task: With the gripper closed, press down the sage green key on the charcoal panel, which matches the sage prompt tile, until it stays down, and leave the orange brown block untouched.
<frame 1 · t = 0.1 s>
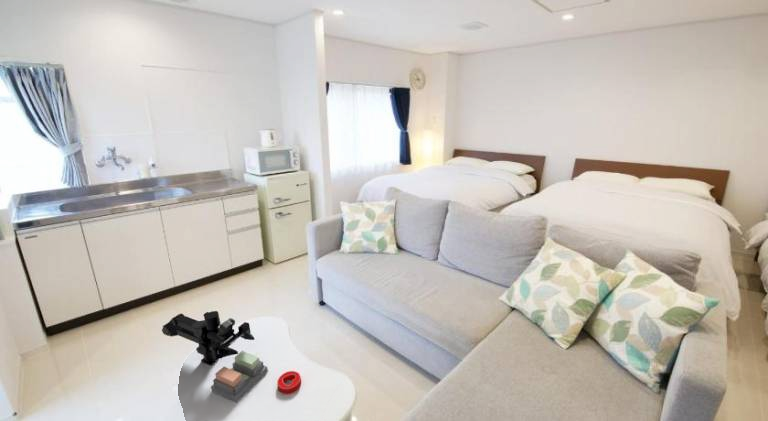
hand: (246, 345, 143), 17 cm above the table, tool horizontal, fingers open, 9 cm apart
orange brown block: (228, 377, 139), point 7 cm above the table, slide at 0.0 cm
decorative ornament: (289, 385, 143), on the table
sage button: (247, 361, 148), point 6 cm above the table, slide at 0.0 cm
button panel: (240, 380, 146), on the table
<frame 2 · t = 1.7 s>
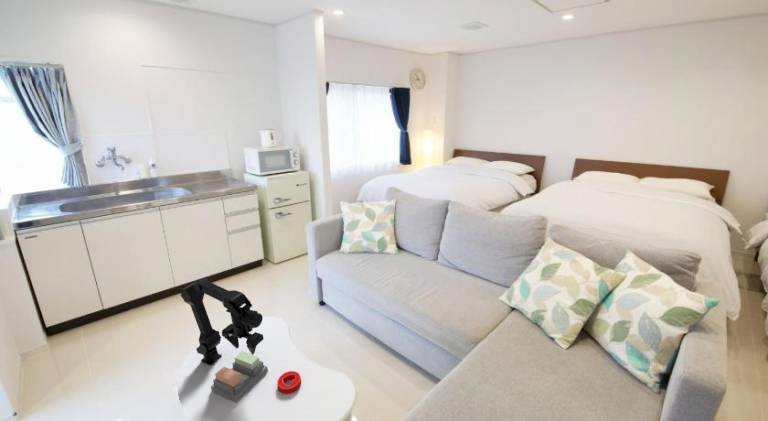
hand: (245, 350, 146), 12 cm above the table, tool pointing down, fingers open, 9 cm apart
nothing on the table moved.
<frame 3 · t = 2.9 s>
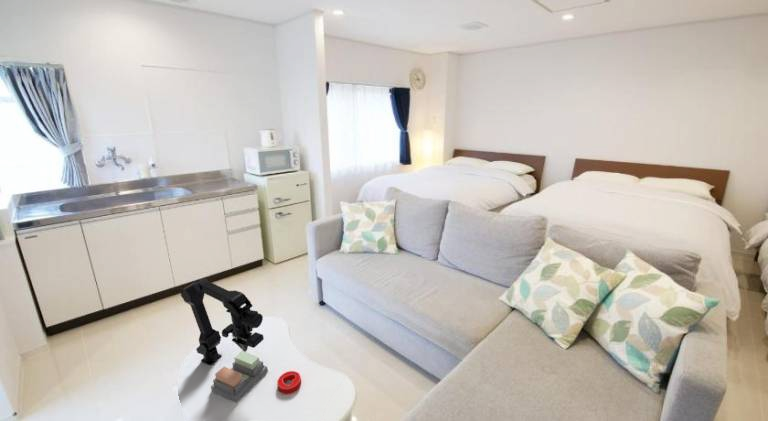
hand: (245, 351, 146), 12 cm above the table, tool pointing down, fingers closed
nothing on the table moved.
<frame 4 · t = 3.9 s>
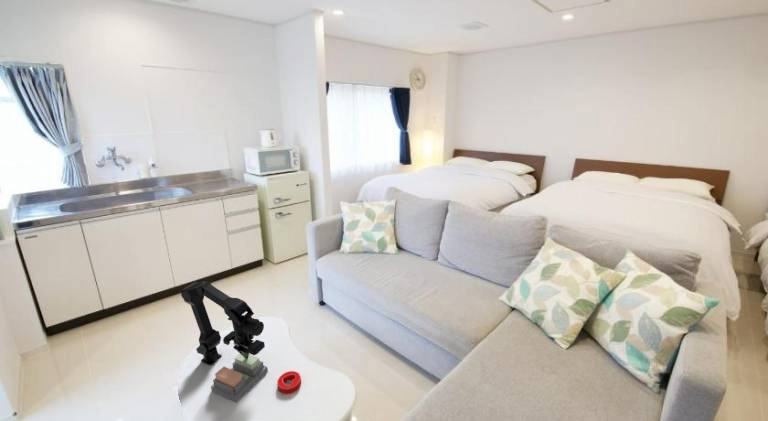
hand: (246, 358, 147), 8 cm above the table, tool pointing down, fingers closed, pressing on sage button
sage button: (247, 361, 148), point 6 cm above the table, slide at 0.4 cm, touching gripper
everything else where it was.
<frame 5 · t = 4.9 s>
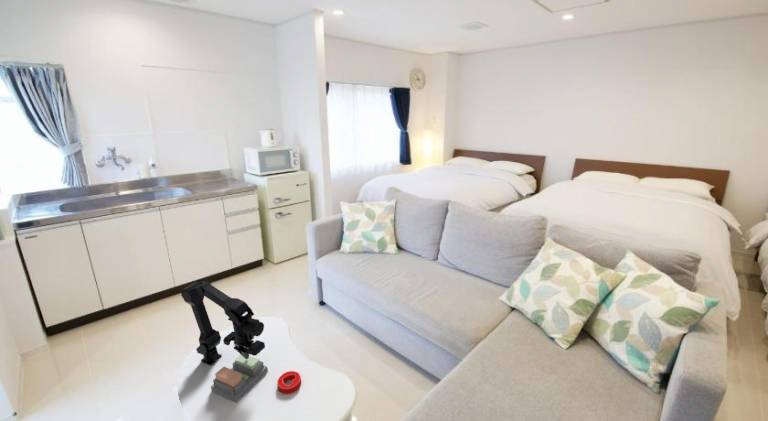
hand: (246, 358, 147), 8 cm above the table, tool pointing down, fingers closed
sage button: (247, 363, 148), point 5 cm above the table, slide at 1.3 cm
everything else where it was.
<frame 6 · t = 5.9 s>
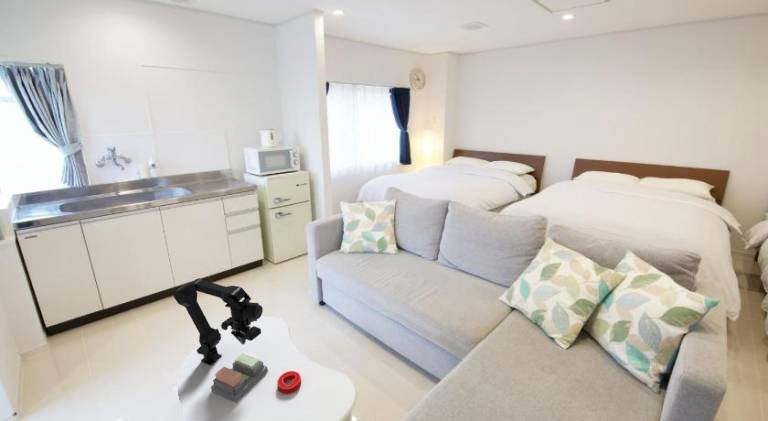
hand: (243, 343, 151), 12 cm above the table, tool pointing down, fingers closed
nothing on the table moved.
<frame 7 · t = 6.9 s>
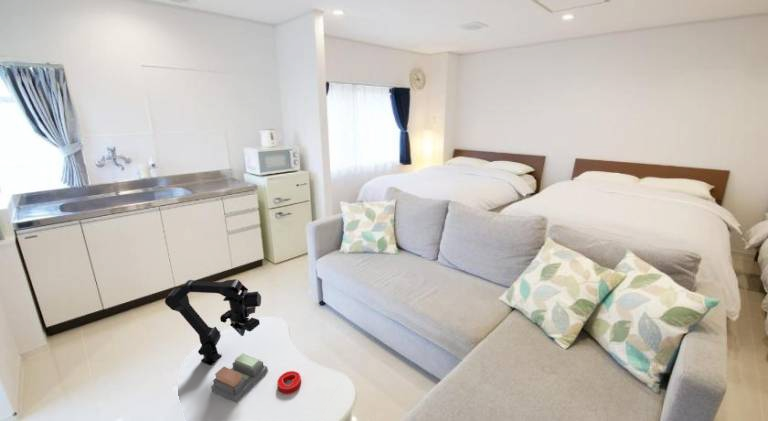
hand: (242, 335, 156), 12 cm above the table, tool pointing down, fingers closed
nothing on the table moved.
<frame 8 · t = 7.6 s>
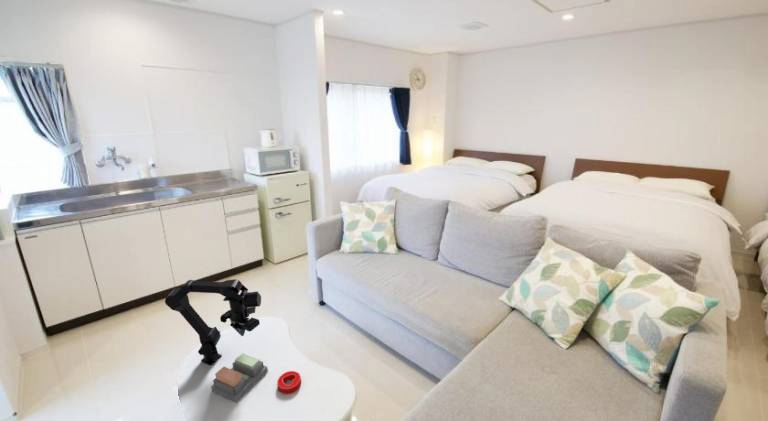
hand: (242, 335, 156), 12 cm above the table, tool pointing down, fingers closed
nothing on the table moved.
at the end: sage button slide at 1.3 cm; orange brown block slide at 0.0 cm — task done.
